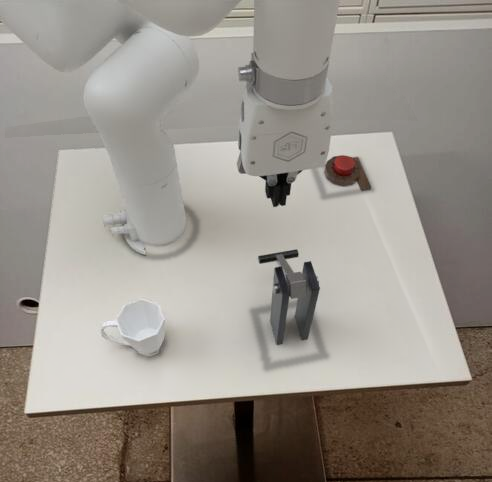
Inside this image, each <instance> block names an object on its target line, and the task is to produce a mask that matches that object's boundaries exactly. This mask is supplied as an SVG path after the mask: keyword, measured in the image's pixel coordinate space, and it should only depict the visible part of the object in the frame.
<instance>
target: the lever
mask: <svg viewBox="0 0 492 482" xmlns="http://www.w3.org/2000/svg"><path fill="white" fill-rule="evenodd" d="M299 254H300V253H299V250H298V249H297V248H296V249H291V250H290V249H289V250H284V251H278V252H273V253H267V254H262V255H261V254H260V255H258V256H257V261H258V264H259V265H260V264H267V263H273V262H276V264H277V267H280V266H282V269H283V272H284V276H285V279H286V282H287V286H288V289H289V292H290V296H289V299H291V300H294V299H298V298H300V297H305V296H307V285H306V279H305V278H304V276H303V275H302V272H301V271H296V272H294V270H293V268H292V267H291V265H290V264H289V263H288V261H287V260H290V259H295V258H299V256H300V255H299Z"/></svg>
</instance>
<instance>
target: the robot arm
mask: <svg viewBox="0 0 492 482" xmlns="http://www.w3.org/2000/svg"><path fill="white" fill-rule="evenodd" d="M340 1H341V0H254V3H253V5H254V6H253V36H252V37H253V38H252V39H253V41H252V52H251V53H250V60H249V62H248V64H245V65H244V66H238V67H237V75H238V81H239V82H240V83H242V82H246V83H245V87H244V89H243V90H244V91H243V95H242V99H241V104H240V112H239V120H238V131H237V132H238V133H237V147H238V150H239V155H238V158H237V160H236V167H237V172H238V173H239V174H241V175H247V176H251V177H259V178H261V179H262V180H264V181H265V184H264V185H265V186H264V192H265V197H266V199H268V200H269V199H270V201H271V205H272V207H273V208H278V207H279V206H281V207H284V206H286V205H287V197H288V196H290V195H291V190H292V184H293V183H294V182H296V179H297V176H298V175H299V174H301V173H302V172H303V171H306V170H312V169H316V168H318V167H319V168H320V167H321V166H323V165H324V164H325V163H326V162H327V161H328V157H329V152H330V145H331V139H332V138H331V137H332V128H333V112H334V111H333V110H334V95H333V85H332V83H331V82H330V80H329V78H328V71H329V65H330V58H331V53H332V46H333V42H334V35H335V31H336V25H337V19H338V12H339V8H340ZM241 2H242V0H0V22H1V23H2V24H3V25H4V26H5V28H7V29H8V30H9V31H10V32H11V33H13V34H14V35H15V36H16V38H18V39H19V40H20V41H21V42H22V43H23V44H25V45H26V47H28V48H29V49H30V50H31V51H32V52H33V53H34V54H35V55H36V56H38V57H39V58H40V59H41V60H42V61H44V62H45V63H46V64H47V65H49V66H50V67H51V68H53V69H54V70H56V71H59V72H61V73H73V72H74V71H78V70H79V69H81V67H83V66H85V65H86V64H88V62H90V61H91V60H92V59H93V58H95V56H97V55H98V54H99V53H100V52H101V51H102V50H103V49H104V48H105V47H106V46H108V44H110V43H111V42H112V41H113V40H116V41H117V43H119V44H120V46H118V47H116V48H115V49H114V51H112V53H110V54H109V55H108V56H107V57H106V58H104V60H103V61H102V62H101V63H100V64H99V65H98V66H97V67H96V68H95V69H94V70H93V72H91V74H90V76H89V78H88V79H87V80H86V83H85V86H84V89H83V104H84V108H85V111H86V113H87V115H88V117H89V119H90V121H91V122H92V124H93V125H94V128H95V130H96V131H97V132H98V134H99V136H100V138H101V140H102V142H103V144H104V147H105V149H106V152H107V155H108V158H109V161H110V164H111V167H112V170H113V173H114V175H115V179H116V182H117V185H118V188H119V192H120V195H121V198H122V202H123V204H124V210H120V211H119V213H115V214H113V213H111V214H104V215H102V216H101V219H102V224H103V227H104V228H105V227H110V233H111V235H112V236H118V235H121V234H123V235H124V238H125V240H126V242H127V244H128V245H129V246H130V248H131V249H133V250H134V251H135V252H137V253H139V254H141V255H143V256H147V251H146V245H147V246H151V247H163V246H167V245H170V244H172V243H175V242H176V241H177V240H179V239H180V238H181V237H182V235H183V234H184V232H185V231H186V228H187V216H186V210H185V205H184V198H183V193H182V192H183V191H182V185H181V180H180V173H179V168H178V161H177V155H176V150H175V146H174V142H173V140H172V138H171V137H170V135H169V134H168V133H167V132H166V131H165V130H163V128H161V124H162V121H163V119H164V118H165V117H166V115H167V114H168V113H169V112H170V111H171V109H172V108H173V107H174V106H175V105H176V104H177V102H178V101H179V100H180V99H181V98H182V97H183V95H184V94H185V93H187V91H188V90H189V89H190V87H192V86H193V84H194V82H195V81H196V79H197V77H198V74H199V71H200V60H199V56H198V52H197V50H196V47H195V44H193V41H192V40H191V38H192V37H193V38H194V37H200V36H203V35H205V34H208V33H210V32H211V31H212V30H214V29H216V27H218V26H219V24H220V23H222V22H223V21H224V20H225V18H226V17H227V16H228V15H229V14H230V13H231V12H233V10H235V8H236V7H237V6H238V5H239V4H240V3H241ZM121 224H122V225H121ZM115 225H119V226H115Z"/></svg>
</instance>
